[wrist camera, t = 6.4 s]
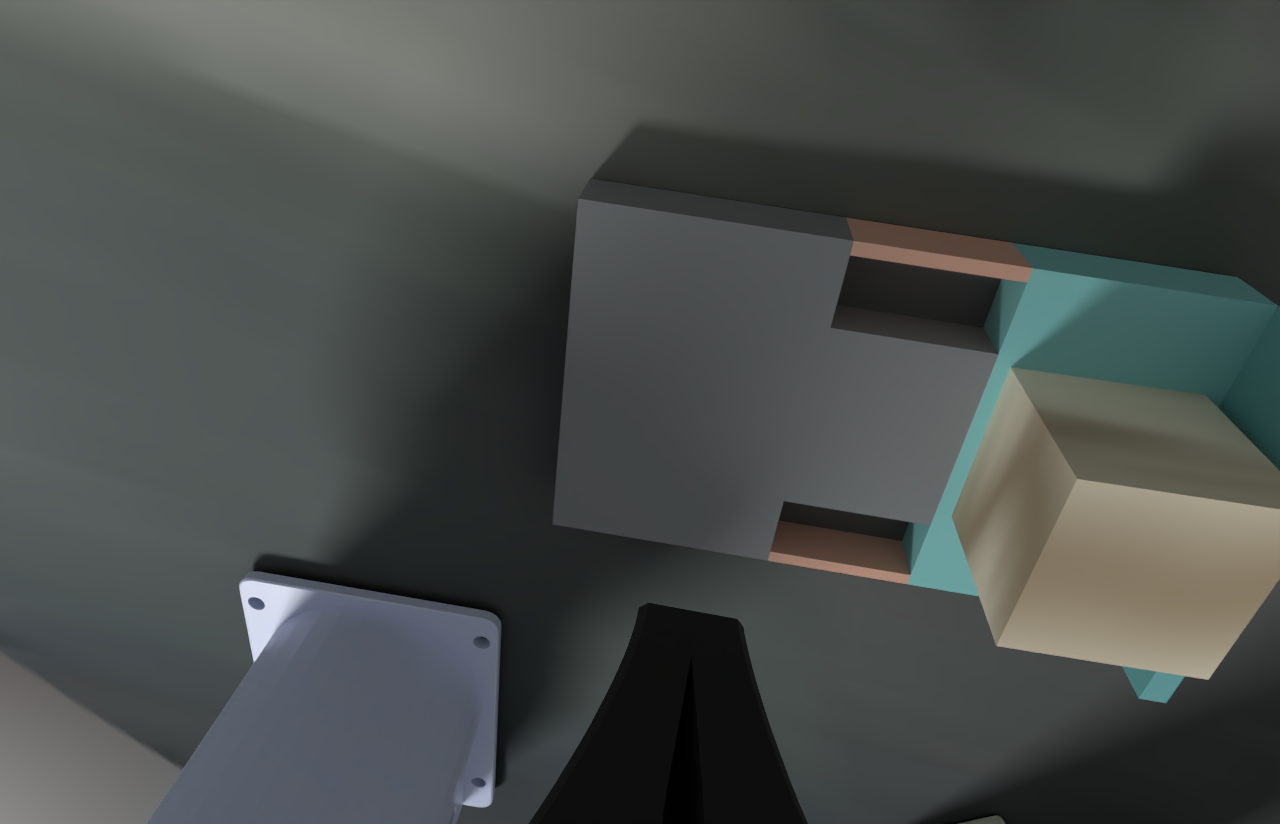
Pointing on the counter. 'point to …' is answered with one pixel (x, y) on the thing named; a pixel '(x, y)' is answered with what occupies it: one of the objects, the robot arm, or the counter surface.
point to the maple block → (1118, 524)
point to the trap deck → (851, 374)
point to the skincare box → (986, 820)
